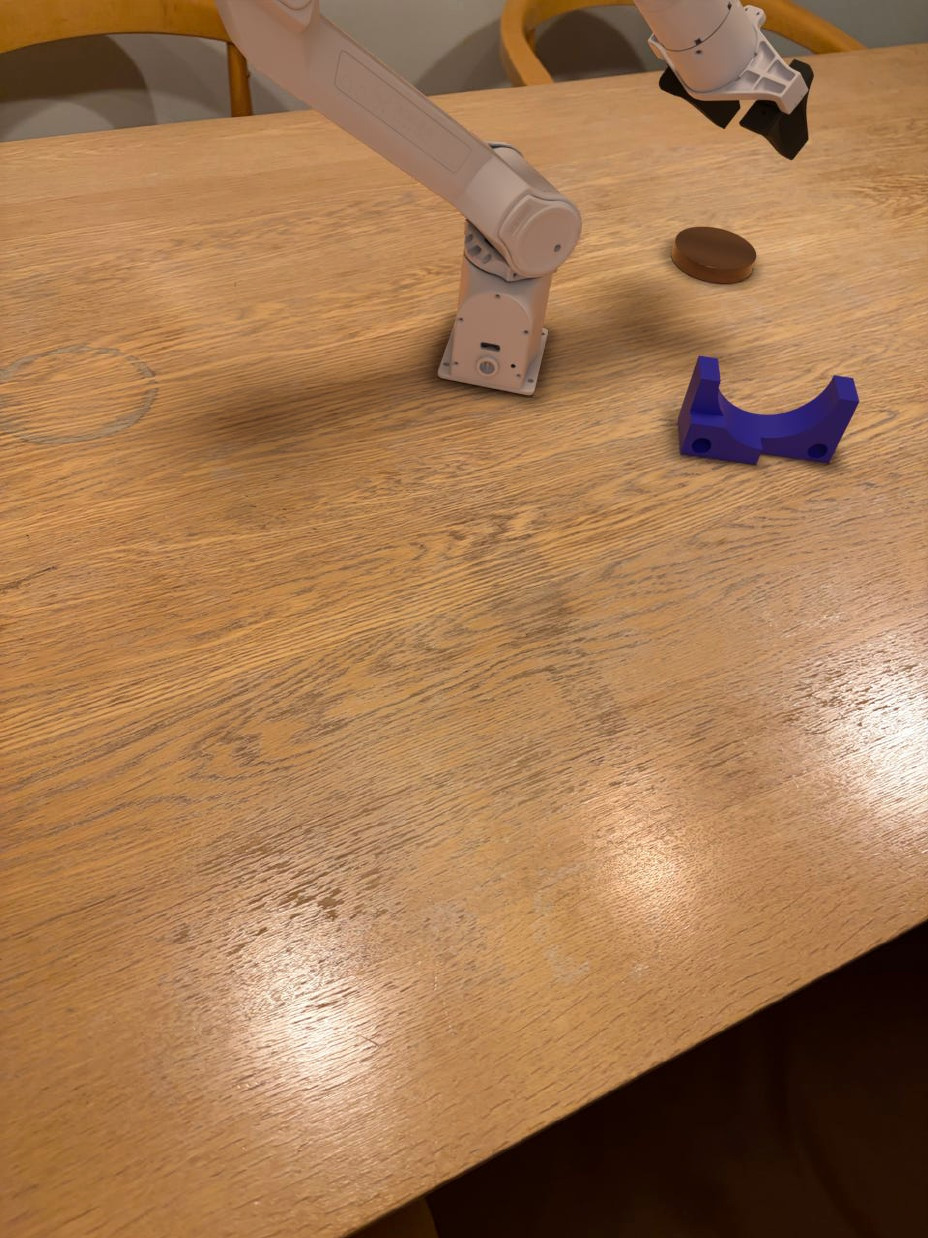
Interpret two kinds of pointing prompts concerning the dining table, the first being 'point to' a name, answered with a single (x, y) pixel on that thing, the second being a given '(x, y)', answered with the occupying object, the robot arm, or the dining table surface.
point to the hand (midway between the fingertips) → (762, 132)
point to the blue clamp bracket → (761, 422)
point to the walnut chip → (713, 254)
